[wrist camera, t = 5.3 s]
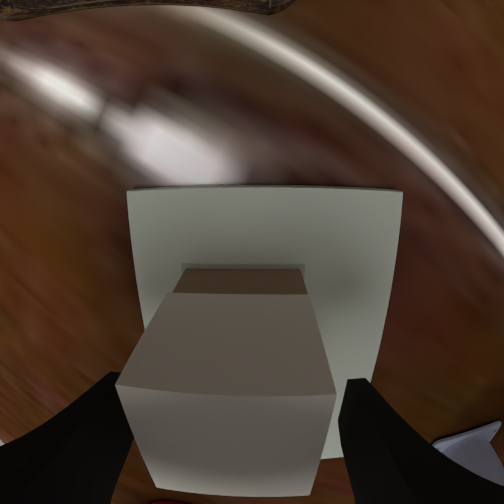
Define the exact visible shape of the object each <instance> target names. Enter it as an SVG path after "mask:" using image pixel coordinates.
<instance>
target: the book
mask: <svg viewBox="0 0 504 504" xmlns="http://www.w3.org/2000/svg"><path fill="white" fill-rule="evenodd" d="M294 1H295V0H0V19H2V20H9V21H18V20H23V19H27V18H32V17H37V16H43V15H49V14H55V13H61V12H67V11H74V10H81V9H89V8H99V7H110V6H125V5H188V6H203V7H215V8H225V9H233V10H241V11H248V12H255V13H261V14H267V15H271V14H275V13H277V12H280V11H282V10H284V9H285V8H287V7H288V6H290V5H291V4H292V3H293V2H294Z"/></svg>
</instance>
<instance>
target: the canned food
mask: <svg viewBox="0 0 504 504" xmlns="http://www.w3.org/2000/svg"><path fill="white" fill-rule="evenodd" d="M150 504H187V503H182V502H176V501H166V500H161V501H155V502H152V503H150Z"/></svg>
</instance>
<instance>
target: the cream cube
mask: <svg viewBox="0 0 504 504" xmlns="http://www.w3.org/2000/svg"><path fill="white" fill-rule="evenodd" d="M115 386H116V389H117V392H118V395H119V398H120V401H121V404H122V407H123V409H124V412H125V415H126V417H127V420H128V423H129V425H130V428H131V430H132V433H133V435H134V438H135V440H136V443H137V445H138V448H139V450H140V452H141V455H142V457H143V459H144V461H145V464H146V466H147V468H148V470H149V472H150V475H151V477H152V479H153V481H154V483H155V485H156V487H157V488H163V489H169V490H176V491H183V492H191V493H201V494H211V495H225V496H248V497H281V496H303V495H310V492H311V489H312V486H313V482H314V479H315V476H316V473H317V469H318V466H319V462H320V459H321V455H322V452H323V448H324V445H325V441H326V437H327V433H328V429H329V425H330V421H331V417H332V413H333V409H334V405H335V401H336V396H337V393H336V389H335V385H334V381H333V378H332V374H331V370H330V367H329V363H328V359H327V356H326V352H325V349H324V345H323V341H322V338H321V334H320V331H319V327H318V324H317V321H316V317H315V314H314V310H313V307H312V304H311V300H310V297H309V294H301V295H273V294H204V293H171V292H167V293H166V295H165V297H164V299H163V300H162V302H161V304H160V305H159V307H158V309H157V310H156V312H155V314H154V316H153V317H152V319H151V321H150V323H149V324H148V326H147V328H146V329H145V331H144V333H143V335H142V337H141V338H140V340H139V342H138V344H137V345H136V347H135V349H134V351H133V353H132V354H131V356H130V358H129V360H128V362H127V363H126V365H125V367H124V369H123V371H122V372H121V374H120V376H119V378H118V380H117V382H116V384H115Z"/></svg>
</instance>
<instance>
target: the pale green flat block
mask: <svg viewBox="0 0 504 504" xmlns="http://www.w3.org/2000/svg"><path fill="white" fill-rule="evenodd" d="M402 199H403V192H401V191H399V190H396V189H381V188H363V187H340V186H309V185H209V186H177V187H155V188H137V189H131V190H129V191H127V204H128V215H129V225H130V234H131V243H132V251H133V259H134V267H135V274H136V281H137V287H138V294H139V300H140V306H141V311H142V317H143V322H144V328H145V329H146V328H147V326H148V324H149V323H150V321H151V319H152V317H153V316H154V314H155V312H156V310H157V309H158V307H159V305H160V304H161V302H162V300H163V299H164V297H165V295H166V293H167V292H171V293H204V294H273V295H301V294H309V297H310V300H311V304H312V307H313V310H314V314H315V317H316V321H317V324H318V327H319V331H320V334H321V338H322V341H323V345H324V349H325V352H326V356H327V359H328V363H329V367H330V370H331V374H332V378H333V381H334V385H335V389H336V393H337V396H336V401H335V405H334V409H333V413H332V417H331V421H330V425H329V429H328V433H327V437H326V441H325V445H324V448H323V452H322V455H321V459H326V458H336V457H344V456H343V452H342V448H341V442H340V435H339V427H338V417H339V413H340V409H341V405H342V401H343V396H344V392H345V388H346V383H347V379H356V378H366V379H367V380H368V381H369V382H371V378H372V374H373V370H374V367H375V363H376V359H377V355H378V350H379V346H380V342H381V337H382V333H383V328H384V324H385V319H386V314H387V309H388V303H389V298H390V292H391V287H392V281H393V275H394V268H395V261H396V254H397V247H398V239H399V230H400V221H401V211H402Z"/></svg>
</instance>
